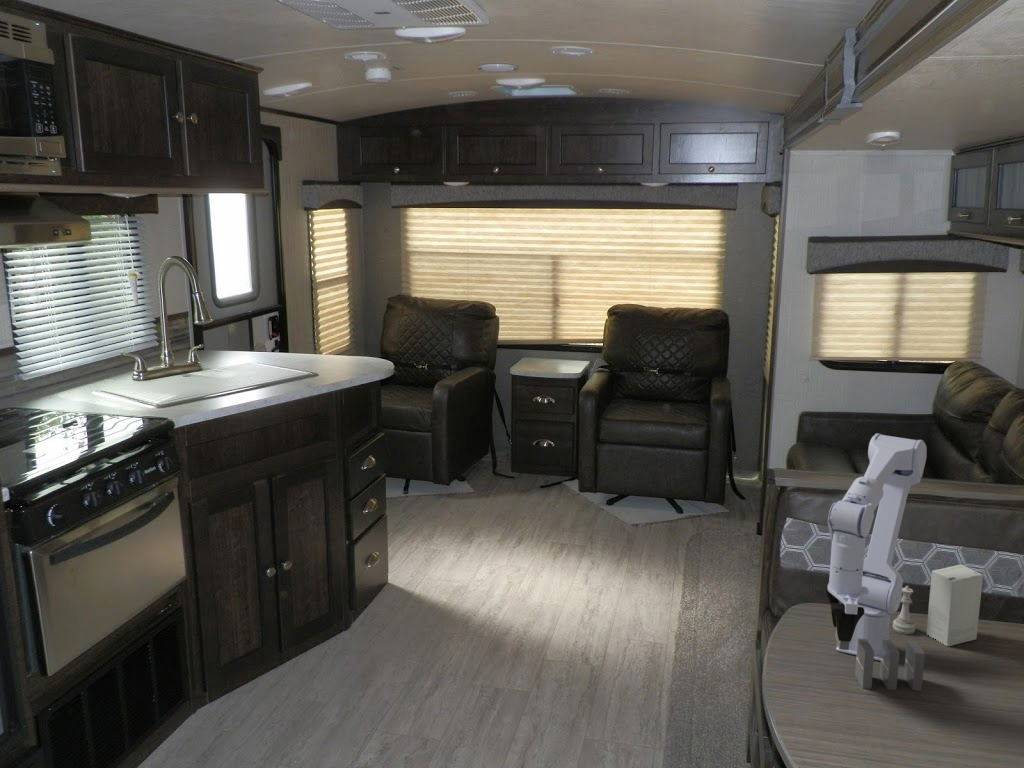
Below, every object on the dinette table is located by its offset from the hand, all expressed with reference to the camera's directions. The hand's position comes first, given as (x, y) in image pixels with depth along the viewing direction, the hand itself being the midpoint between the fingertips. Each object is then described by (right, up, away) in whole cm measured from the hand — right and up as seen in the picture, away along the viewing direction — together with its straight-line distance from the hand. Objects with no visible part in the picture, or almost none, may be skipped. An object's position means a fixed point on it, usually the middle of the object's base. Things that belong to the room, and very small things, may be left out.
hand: (841, 633), depth 166 cm
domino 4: (+13, -10, 0) cm, 17 cm away
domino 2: (+4, -10, +1) cm, 11 cm away
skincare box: (+29, -6, +18) cm, 35 cm away
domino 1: (0, -2, 0) cm, 2 cm away
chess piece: (+21, -6, +22) cm, 31 cm away
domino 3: (+9, -10, +1) cm, 13 cm away
